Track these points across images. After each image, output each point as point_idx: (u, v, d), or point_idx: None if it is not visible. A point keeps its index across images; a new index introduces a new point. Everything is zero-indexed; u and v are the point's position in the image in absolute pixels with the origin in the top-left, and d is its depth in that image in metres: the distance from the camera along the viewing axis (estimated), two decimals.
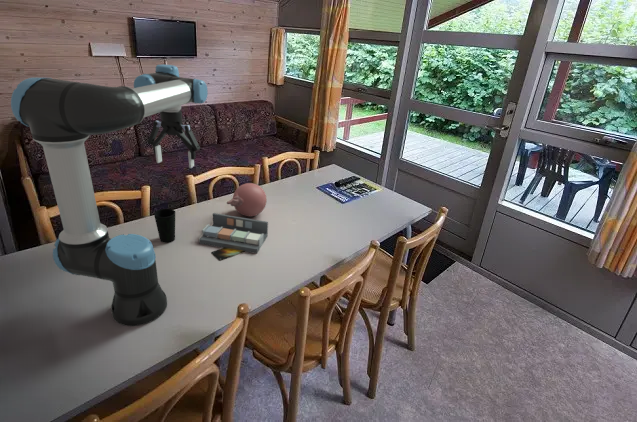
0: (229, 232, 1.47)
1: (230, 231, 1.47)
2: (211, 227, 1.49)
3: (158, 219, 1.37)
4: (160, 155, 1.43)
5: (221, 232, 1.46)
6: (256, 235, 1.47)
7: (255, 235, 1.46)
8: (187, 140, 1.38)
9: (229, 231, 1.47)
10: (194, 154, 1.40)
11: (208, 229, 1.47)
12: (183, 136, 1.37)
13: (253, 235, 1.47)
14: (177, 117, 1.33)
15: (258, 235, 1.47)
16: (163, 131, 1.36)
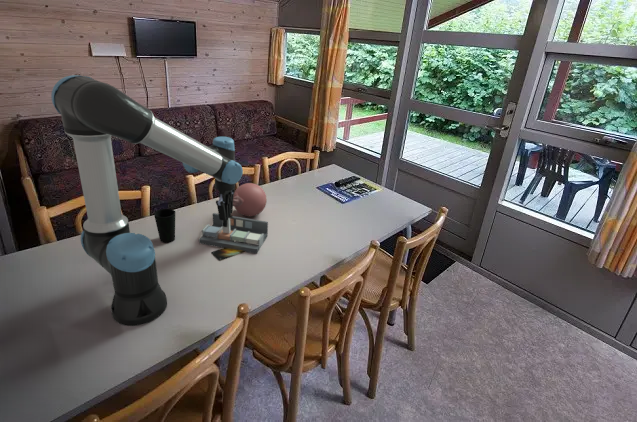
0: (229, 233, 1.47)
1: (230, 232, 1.48)
2: (211, 227, 1.49)
3: (158, 219, 1.37)
4: (227, 227, 1.46)
5: (221, 233, 1.46)
6: (256, 235, 1.47)
7: (255, 235, 1.46)
8: None
9: None
10: (224, 222, 1.43)
11: (208, 229, 1.47)
12: None
13: (253, 235, 1.47)
14: (217, 186, 1.35)
15: (258, 235, 1.47)
16: None
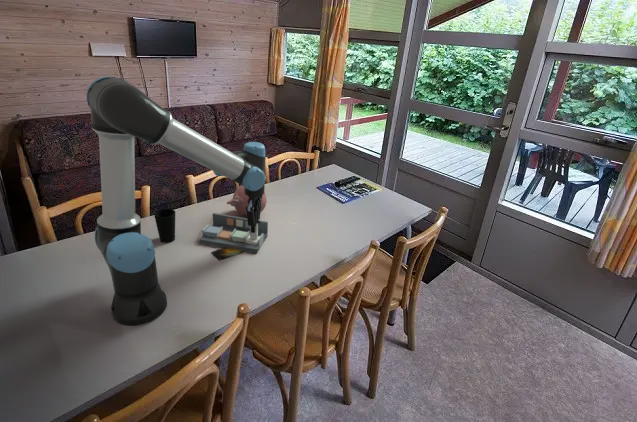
0: (229, 235, 1.47)
1: None
2: (211, 227, 1.49)
3: (158, 219, 1.37)
4: None
5: (221, 235, 1.47)
6: None
7: None
8: None
9: (229, 233, 1.48)
10: (252, 228, 1.42)
11: (208, 229, 1.47)
12: None
13: None
14: (246, 191, 1.34)
15: (258, 237, 1.47)
16: None
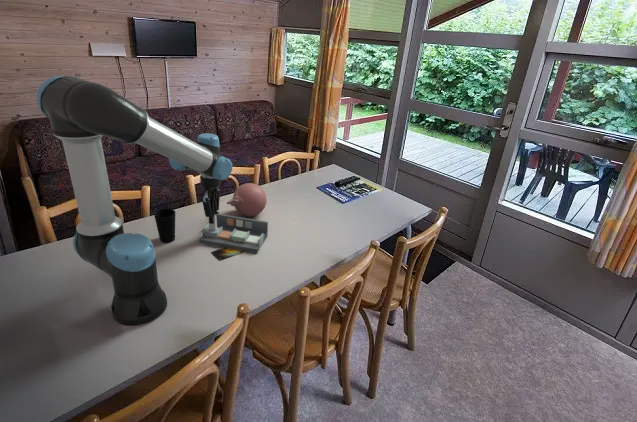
0: (229, 235, 1.47)
1: None
2: None
3: (158, 219, 1.37)
4: None
5: (221, 235, 1.47)
6: (256, 238, 1.47)
7: (255, 238, 1.47)
8: None
9: (229, 233, 1.48)
10: (210, 219, 1.44)
11: (208, 229, 1.47)
12: None
13: (253, 237, 1.47)
14: (202, 182, 1.35)
15: (258, 238, 1.47)
16: None
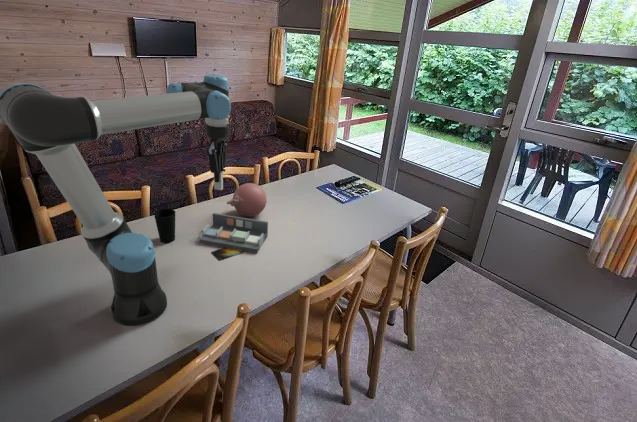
0: (229, 235, 1.47)
1: None
2: (211, 230, 1.49)
3: (158, 219, 1.37)
4: None
5: (221, 235, 1.47)
6: (256, 238, 1.47)
7: (255, 238, 1.47)
8: None
9: (229, 233, 1.48)
10: (216, 177, 1.28)
11: (208, 232, 1.48)
12: None
13: (253, 237, 1.47)
14: (208, 131, 1.20)
15: (258, 238, 1.47)
16: None
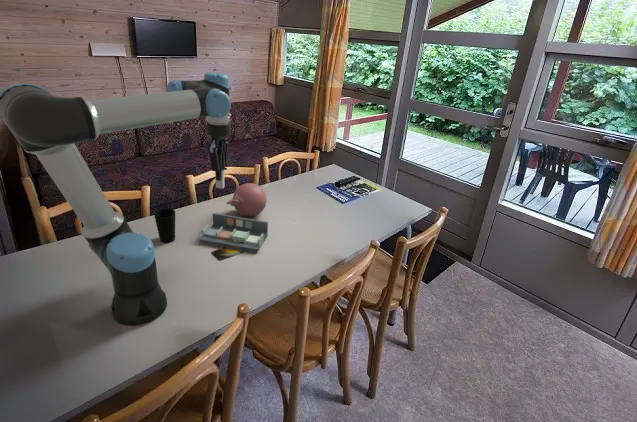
0: (229, 235, 1.47)
1: None
2: (211, 230, 1.49)
3: (158, 219, 1.37)
4: None
5: (221, 235, 1.47)
6: (256, 238, 1.47)
7: (255, 238, 1.47)
8: None
9: (229, 233, 1.48)
10: (217, 175, 1.27)
11: (208, 232, 1.48)
12: None
13: (253, 237, 1.47)
14: (209, 130, 1.19)
15: (258, 238, 1.47)
16: None
